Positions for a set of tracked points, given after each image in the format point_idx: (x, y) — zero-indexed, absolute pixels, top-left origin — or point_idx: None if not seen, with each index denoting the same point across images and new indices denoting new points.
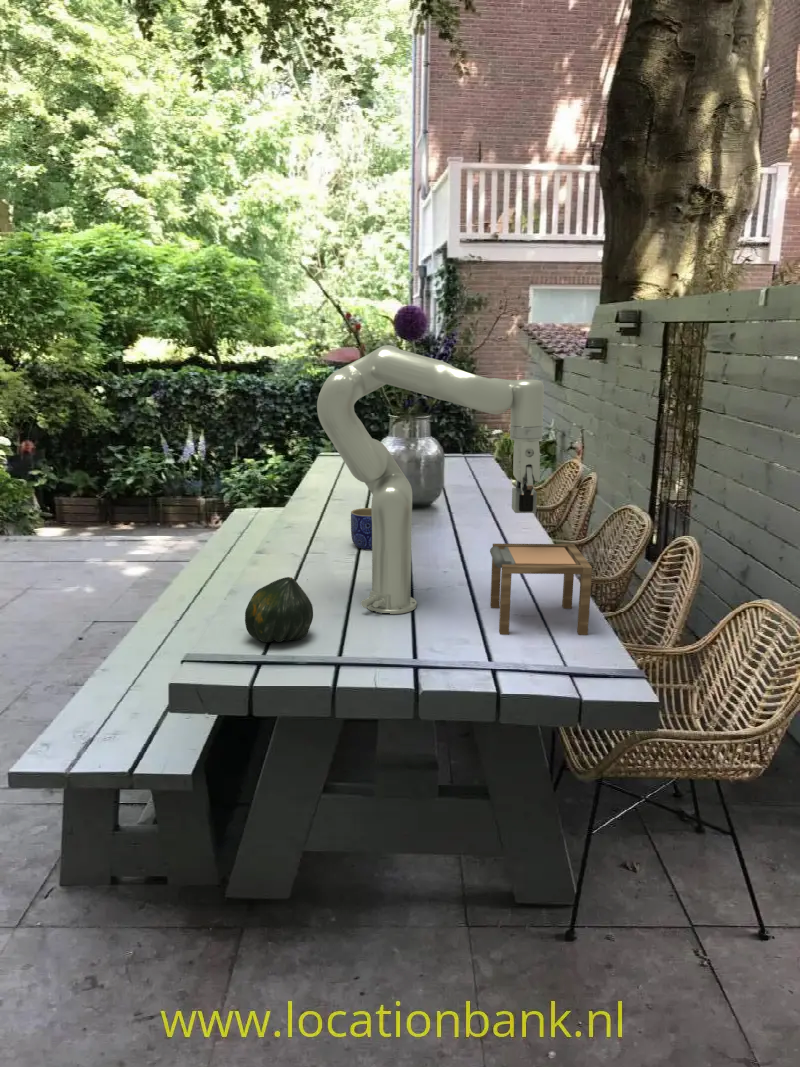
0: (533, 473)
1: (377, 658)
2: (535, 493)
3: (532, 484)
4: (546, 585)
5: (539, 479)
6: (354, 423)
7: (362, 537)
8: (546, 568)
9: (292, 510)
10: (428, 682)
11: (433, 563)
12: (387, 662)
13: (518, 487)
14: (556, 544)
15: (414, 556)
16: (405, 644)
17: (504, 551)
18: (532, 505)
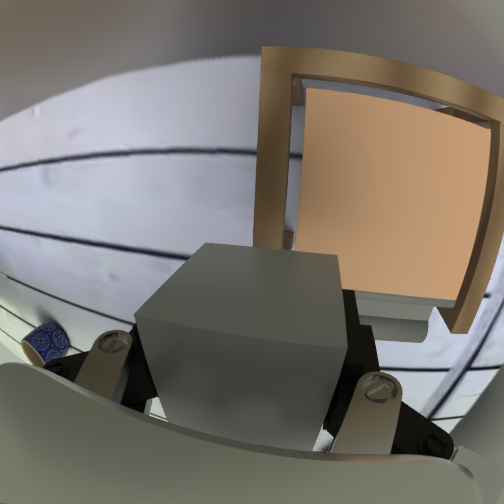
0: None
1: (432, 397)
2: (344, 349)
3: (502, 474)
4: (162, 114)
5: (475, 483)
6: None
7: (63, 354)
8: (502, 229)
9: (14, 353)
10: (497, 358)
11: (85, 283)
12: (444, 390)
13: (148, 397)
14: (265, 105)
15: (69, 298)
16: (410, 377)
17: None
18: (356, 311)
